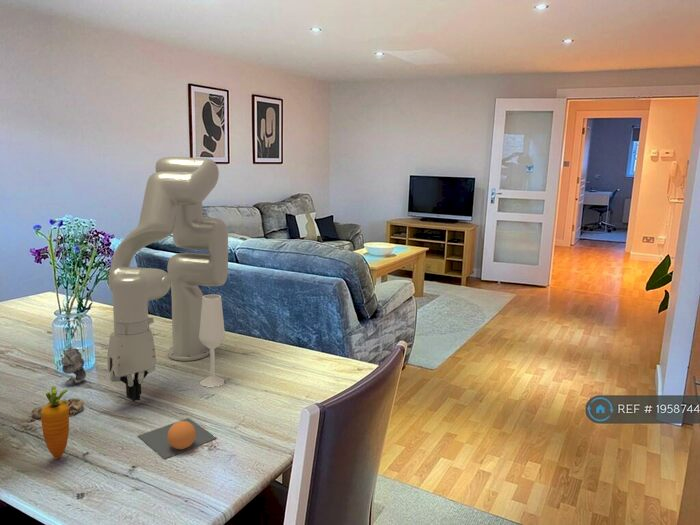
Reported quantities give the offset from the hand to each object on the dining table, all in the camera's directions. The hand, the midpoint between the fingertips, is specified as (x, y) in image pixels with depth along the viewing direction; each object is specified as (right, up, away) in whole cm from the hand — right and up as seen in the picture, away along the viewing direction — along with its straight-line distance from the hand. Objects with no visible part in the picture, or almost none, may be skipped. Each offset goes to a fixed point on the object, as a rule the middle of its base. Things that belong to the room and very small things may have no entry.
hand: (134, 398), depth 125 cm
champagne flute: (+15, 0, +15) cm, 21 cm away
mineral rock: (-16, -2, -5) cm, 17 cm away
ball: (+17, -3, -18) cm, 25 cm away
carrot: (-5, -6, -24) cm, 25 cm away
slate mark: (+15, -5, -14) cm, 21 cm away
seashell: (-20, +1, +11) cm, 23 cm away
